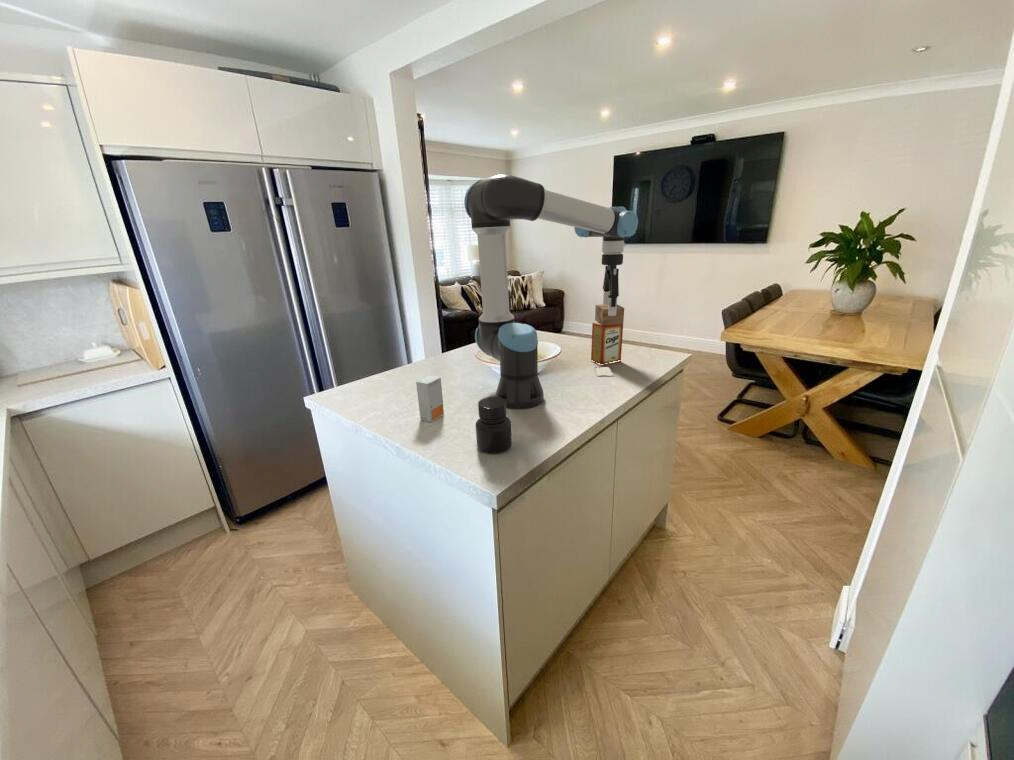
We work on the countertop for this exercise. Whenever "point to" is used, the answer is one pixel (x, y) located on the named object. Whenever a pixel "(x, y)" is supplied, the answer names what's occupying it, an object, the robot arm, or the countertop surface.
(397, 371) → the countertop surface
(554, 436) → the countertop surface
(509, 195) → the robot arm
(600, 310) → the walnut block
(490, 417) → the ink bottle
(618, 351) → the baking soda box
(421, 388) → the skincare box
